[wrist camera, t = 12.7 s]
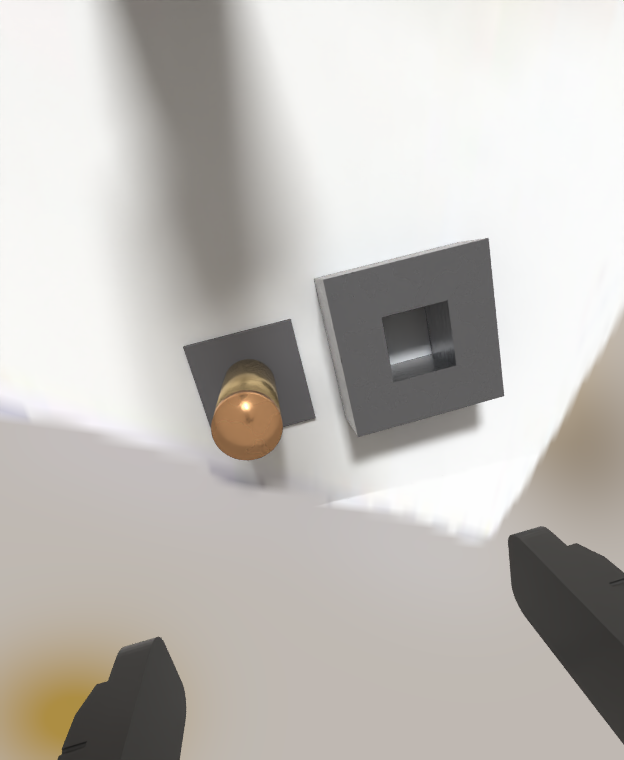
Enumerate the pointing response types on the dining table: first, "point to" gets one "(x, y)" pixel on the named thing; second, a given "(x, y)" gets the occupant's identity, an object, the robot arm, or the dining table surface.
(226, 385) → the brass cylinder
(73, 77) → the dining table surface
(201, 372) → the mat
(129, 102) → the dining table surface
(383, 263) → the housing
